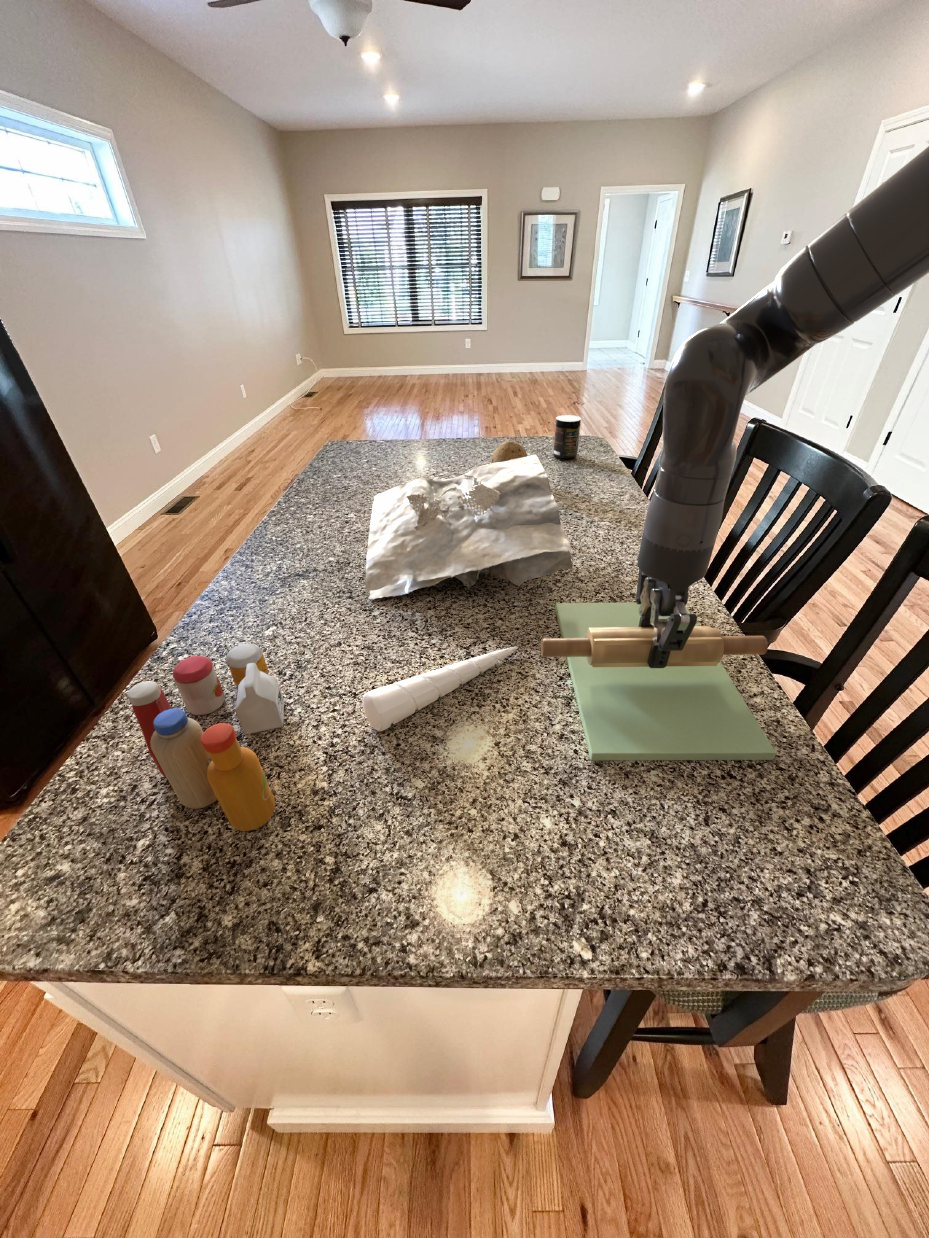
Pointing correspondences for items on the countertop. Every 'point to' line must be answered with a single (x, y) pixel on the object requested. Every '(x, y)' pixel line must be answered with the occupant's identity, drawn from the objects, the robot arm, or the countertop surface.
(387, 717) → the unicorn horn
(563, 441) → the supplement container
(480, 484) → the white terrain model
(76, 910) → the countertop surface
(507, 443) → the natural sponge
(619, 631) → the rolling pin
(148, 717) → the toy food
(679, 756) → the pastry board
